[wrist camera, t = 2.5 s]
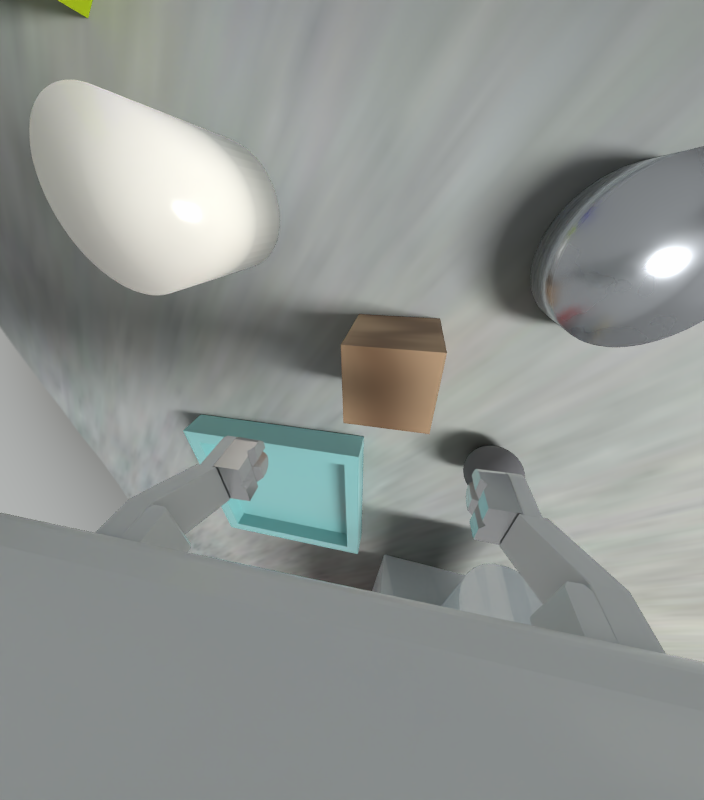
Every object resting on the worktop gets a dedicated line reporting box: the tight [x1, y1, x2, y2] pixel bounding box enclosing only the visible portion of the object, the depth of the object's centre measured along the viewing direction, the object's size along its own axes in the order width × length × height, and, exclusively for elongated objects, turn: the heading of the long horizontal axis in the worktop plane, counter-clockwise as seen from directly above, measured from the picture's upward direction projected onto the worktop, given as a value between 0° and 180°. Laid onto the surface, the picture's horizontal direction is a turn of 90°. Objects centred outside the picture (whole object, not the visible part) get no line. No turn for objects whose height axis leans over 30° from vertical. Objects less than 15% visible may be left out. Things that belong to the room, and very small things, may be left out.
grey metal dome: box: [531, 146, 704, 347], centre depth 12 cm, size 7×7×3 cm
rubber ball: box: [463, 446, 525, 485], centre depth 19 cm, size 4×4×4 cm
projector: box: [372, 554, 543, 625], centre depth 31 cm, size 35×19×15 cm, turn 175°
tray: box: [183, 415, 364, 554], centre depth 28 cm, size 16×16×2 cm
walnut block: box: [341, 314, 447, 434], centre depth 16 cm, size 5×5×5 cm
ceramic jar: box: [29, 80, 280, 295], centre depth 12 cm, size 6×6×7 cm
